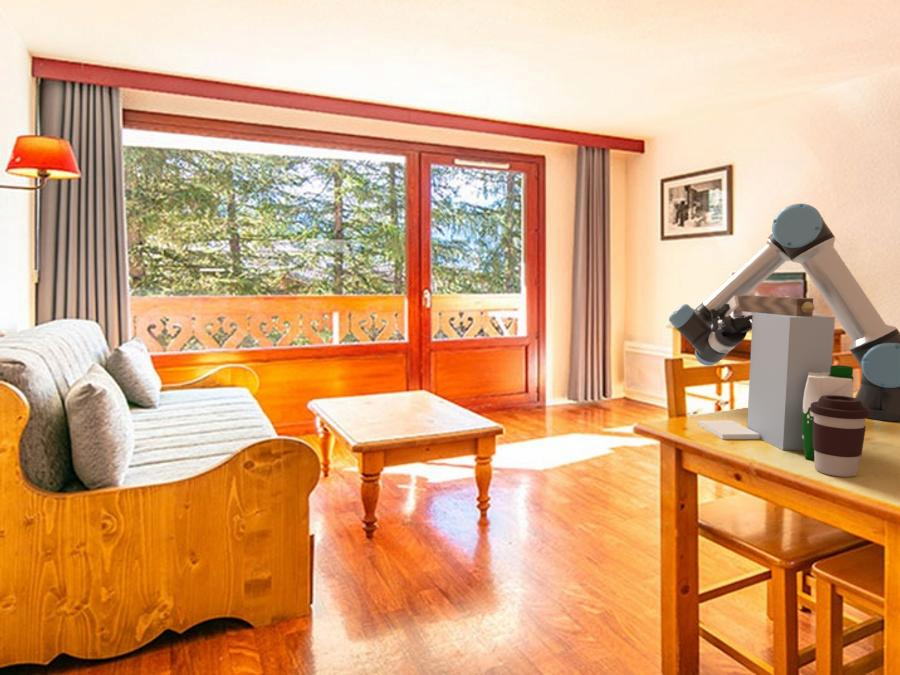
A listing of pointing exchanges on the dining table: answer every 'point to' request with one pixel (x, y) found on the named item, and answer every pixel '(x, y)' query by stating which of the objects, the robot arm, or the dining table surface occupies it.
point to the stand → (785, 373)
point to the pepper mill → (775, 305)
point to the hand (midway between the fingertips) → (763, 300)
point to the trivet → (728, 430)
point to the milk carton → (819, 386)
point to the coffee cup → (838, 434)
